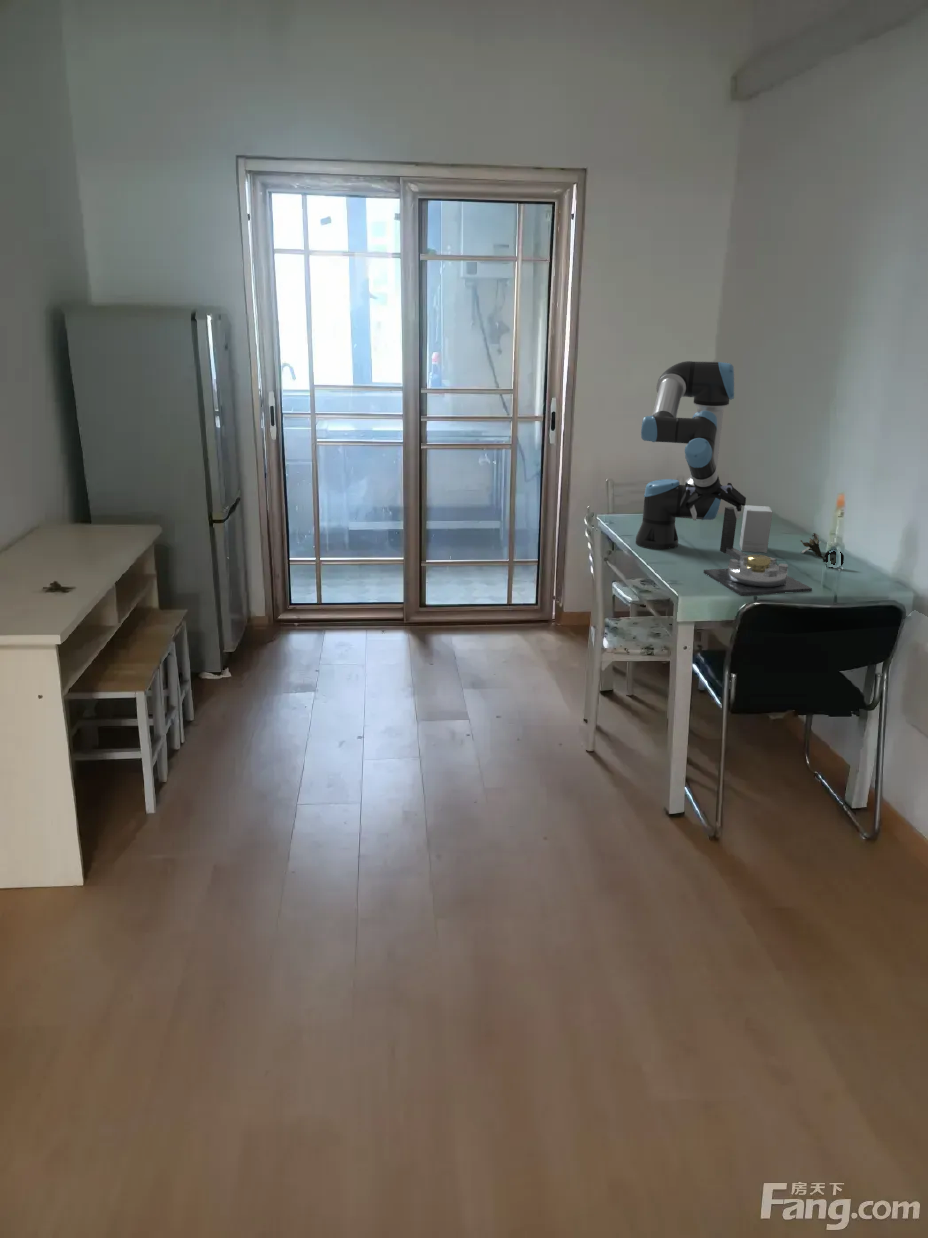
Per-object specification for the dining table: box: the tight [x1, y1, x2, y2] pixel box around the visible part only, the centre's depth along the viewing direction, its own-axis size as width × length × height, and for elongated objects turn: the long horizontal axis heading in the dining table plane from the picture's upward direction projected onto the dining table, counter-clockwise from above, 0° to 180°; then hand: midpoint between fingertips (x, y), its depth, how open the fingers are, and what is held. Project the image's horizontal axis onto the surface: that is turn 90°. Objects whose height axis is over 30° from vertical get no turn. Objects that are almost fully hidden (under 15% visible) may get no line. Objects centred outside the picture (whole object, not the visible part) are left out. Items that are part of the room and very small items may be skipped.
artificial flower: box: [799, 532, 845, 567], centre depth 307 cm, size 9×22×10 cm, turn 177°
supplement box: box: [739, 504, 773, 554], centre depth 317 cm, size 9×9×15 cm
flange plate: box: [703, 554, 813, 597], centre depth 281 cm, size 24×24×8 cm
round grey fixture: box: [719, 506, 789, 587], centre depth 284 cm, size 30×18×18 cm, turn 13°
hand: (716, 516), depth 287 cm, fingers open, 13 cm apart
